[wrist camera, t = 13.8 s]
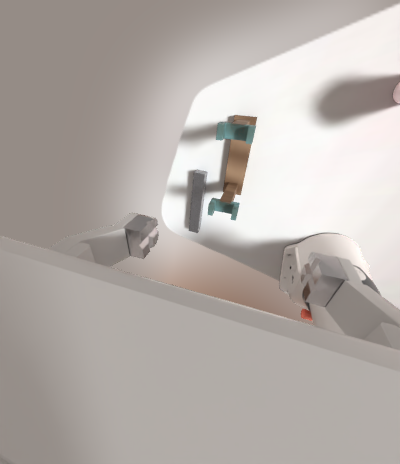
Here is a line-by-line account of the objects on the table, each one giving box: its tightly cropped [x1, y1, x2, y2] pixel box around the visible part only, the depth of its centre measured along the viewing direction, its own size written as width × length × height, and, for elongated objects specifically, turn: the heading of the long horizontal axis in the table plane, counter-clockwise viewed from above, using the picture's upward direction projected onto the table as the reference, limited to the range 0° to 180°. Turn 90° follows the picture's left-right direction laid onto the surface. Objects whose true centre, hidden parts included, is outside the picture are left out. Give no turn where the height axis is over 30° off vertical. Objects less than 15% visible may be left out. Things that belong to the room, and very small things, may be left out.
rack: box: [208, 115, 257, 220], centre depth 35 cm, size 15×5×14 cm, turn 176°
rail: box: [189, 170, 207, 233], centre depth 48 cm, size 16×2×2 cm, turn 174°
